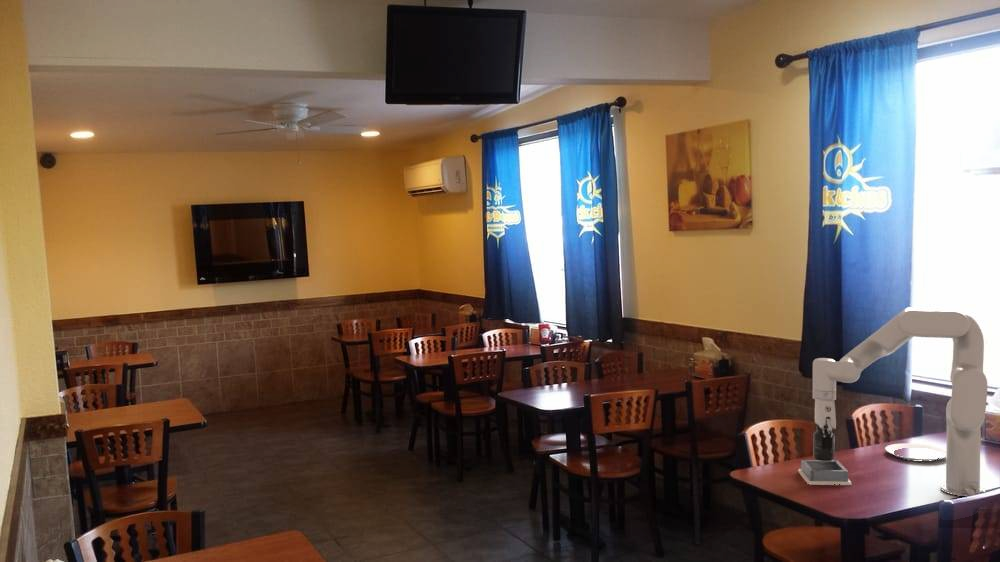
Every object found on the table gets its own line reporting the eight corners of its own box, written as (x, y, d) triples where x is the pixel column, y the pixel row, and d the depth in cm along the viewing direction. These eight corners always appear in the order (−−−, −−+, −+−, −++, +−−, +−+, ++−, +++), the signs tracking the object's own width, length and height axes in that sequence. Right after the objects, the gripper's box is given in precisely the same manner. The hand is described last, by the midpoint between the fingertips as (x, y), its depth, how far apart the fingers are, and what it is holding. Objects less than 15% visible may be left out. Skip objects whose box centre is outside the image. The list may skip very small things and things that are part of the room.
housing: (851, 485, 271) (851, 472, 271) (808, 484, 273) (808, 471, 273) (839, 472, 285) (839, 459, 285) (798, 471, 287) (798, 459, 286)
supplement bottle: (837, 461, 275) (837, 426, 274) (817, 461, 275) (817, 427, 274) (829, 455, 282) (830, 421, 281) (810, 455, 282) (810, 422, 281)
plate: (884, 461, 297) (884, 455, 297) (886, 446, 315) (886, 441, 315) (948, 468, 287) (948, 461, 287) (947, 452, 306) (947, 446, 305)
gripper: (843, 400, 268) (842, 452, 269) (828, 389, 285) (828, 438, 286) (819, 399, 269) (819, 452, 270) (806, 389, 286) (806, 438, 287)
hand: (823, 445), depth 278 cm, fingers closed on supplement bottle, 6 cm apart
